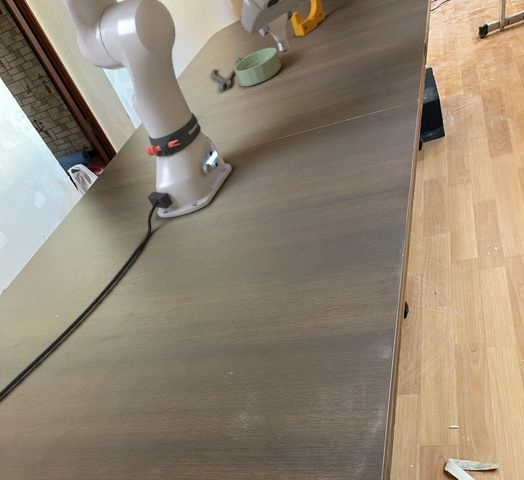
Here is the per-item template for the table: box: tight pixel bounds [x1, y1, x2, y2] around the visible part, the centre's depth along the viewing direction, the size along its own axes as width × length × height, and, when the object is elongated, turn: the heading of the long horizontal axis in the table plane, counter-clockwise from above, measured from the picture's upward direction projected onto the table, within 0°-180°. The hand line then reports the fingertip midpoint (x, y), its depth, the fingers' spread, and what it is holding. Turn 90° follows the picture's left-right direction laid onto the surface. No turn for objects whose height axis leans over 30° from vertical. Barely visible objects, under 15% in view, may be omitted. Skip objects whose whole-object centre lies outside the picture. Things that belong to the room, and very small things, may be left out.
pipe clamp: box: [290, 0, 326, 37], centre depth 167 cm, size 12×4×6 cm, turn 130°
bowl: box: [233, 47, 282, 87], centre depth 154 cm, size 14×14×5 cm
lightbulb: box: [267, 12, 290, 53], centre depth 118 cm, size 6×6×11 cm
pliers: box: [211, 57, 242, 92], centre depth 168 cm, size 11×1×25 cm
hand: (275, 25), depth 118 cm, fingers closed on lightbulb, 6 cm apart
